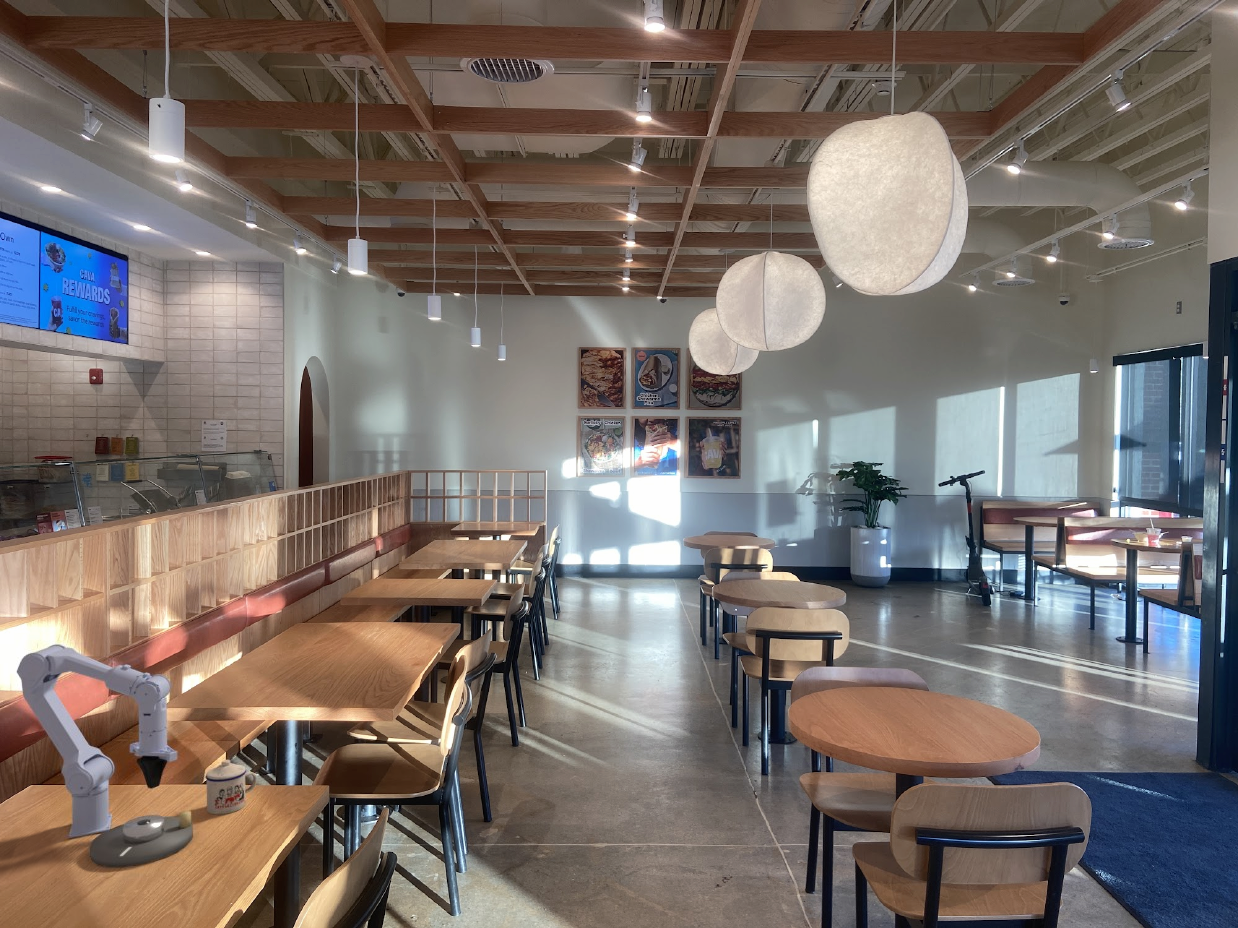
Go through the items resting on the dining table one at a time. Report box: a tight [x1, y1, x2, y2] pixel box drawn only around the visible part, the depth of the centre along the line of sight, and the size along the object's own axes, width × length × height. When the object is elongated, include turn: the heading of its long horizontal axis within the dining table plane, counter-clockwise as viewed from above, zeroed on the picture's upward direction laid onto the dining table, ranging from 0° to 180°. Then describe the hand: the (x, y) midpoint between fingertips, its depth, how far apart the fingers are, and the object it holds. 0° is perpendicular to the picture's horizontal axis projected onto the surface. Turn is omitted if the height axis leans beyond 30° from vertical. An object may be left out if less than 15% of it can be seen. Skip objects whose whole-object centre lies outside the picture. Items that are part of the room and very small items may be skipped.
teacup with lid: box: [205, 759, 258, 815], centre depth 207 cm, size 12×9×12 cm
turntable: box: [89, 810, 194, 868], centre depth 186 cm, size 20×20×5 cm
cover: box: [123, 814, 165, 844], centre depth 186 cm, size 8×8×3 cm
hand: (153, 786), depth 196 cm, fingers closed
